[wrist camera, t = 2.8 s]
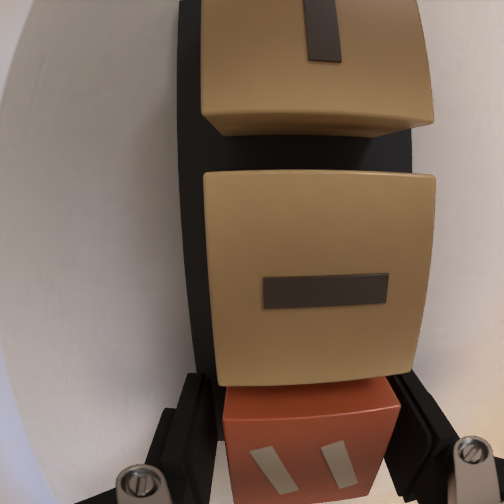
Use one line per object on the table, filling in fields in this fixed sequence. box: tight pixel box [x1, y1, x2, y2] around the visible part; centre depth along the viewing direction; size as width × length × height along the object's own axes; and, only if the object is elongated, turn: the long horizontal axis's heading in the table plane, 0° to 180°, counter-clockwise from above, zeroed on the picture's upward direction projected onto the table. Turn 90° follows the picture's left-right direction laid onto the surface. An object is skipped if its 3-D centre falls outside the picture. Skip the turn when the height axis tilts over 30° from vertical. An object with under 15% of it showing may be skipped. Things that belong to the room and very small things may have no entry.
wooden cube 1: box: [201, 0, 434, 138], centre depth 6 cm, size 4×4×4 cm
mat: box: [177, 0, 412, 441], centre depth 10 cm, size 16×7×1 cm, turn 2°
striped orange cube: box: [222, 376, 401, 504], centre depth 9 cm, size 4×4×4 cm
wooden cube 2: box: [203, 170, 436, 386], centre depth 8 cm, size 4×4×4 cm
